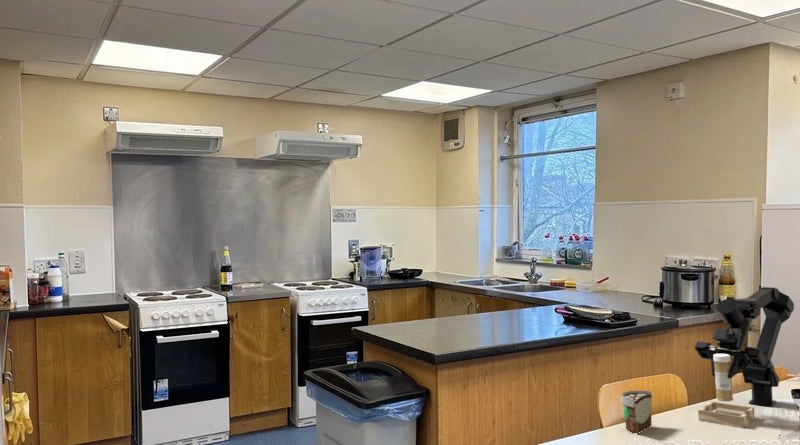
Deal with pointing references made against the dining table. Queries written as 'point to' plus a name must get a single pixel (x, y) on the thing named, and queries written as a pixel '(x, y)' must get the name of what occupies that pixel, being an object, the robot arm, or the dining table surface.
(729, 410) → the box
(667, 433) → the dining table surface
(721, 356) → the sprinkles bottle
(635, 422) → the food container
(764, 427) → the dining table surface
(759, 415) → the dining table surface
